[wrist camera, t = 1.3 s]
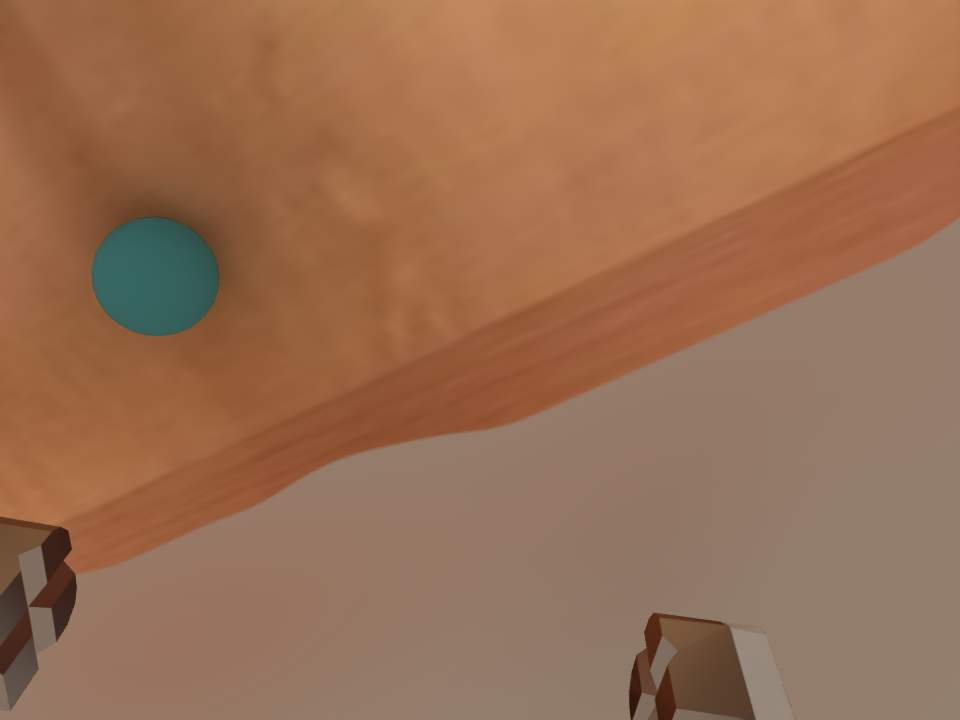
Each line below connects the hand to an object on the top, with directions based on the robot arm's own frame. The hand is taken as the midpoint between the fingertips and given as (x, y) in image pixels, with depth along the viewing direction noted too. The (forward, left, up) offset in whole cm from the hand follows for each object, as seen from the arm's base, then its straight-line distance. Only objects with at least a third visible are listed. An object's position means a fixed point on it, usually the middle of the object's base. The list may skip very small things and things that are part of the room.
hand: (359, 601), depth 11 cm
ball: (-4, -14, -31) cm, 34 cm away
